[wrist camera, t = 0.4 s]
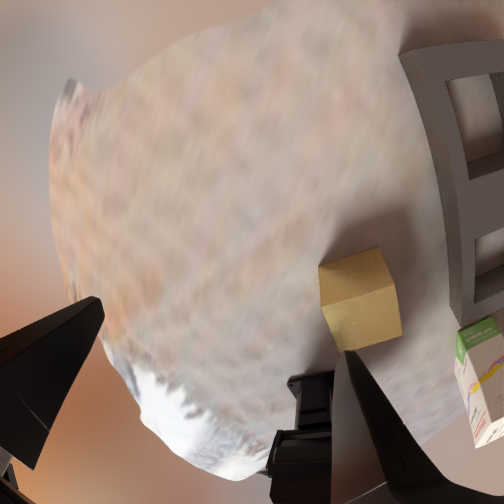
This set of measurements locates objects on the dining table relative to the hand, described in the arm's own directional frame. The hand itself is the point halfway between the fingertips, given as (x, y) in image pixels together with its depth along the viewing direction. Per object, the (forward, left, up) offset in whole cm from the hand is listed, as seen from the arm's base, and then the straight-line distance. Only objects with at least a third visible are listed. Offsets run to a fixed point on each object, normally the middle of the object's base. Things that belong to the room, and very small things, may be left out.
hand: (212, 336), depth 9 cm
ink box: (-24, -17, -13) cm, 32 cm away
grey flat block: (-4, -18, -13) cm, 22 cm away
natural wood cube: (-9, -5, -13) cm, 16 cm away
